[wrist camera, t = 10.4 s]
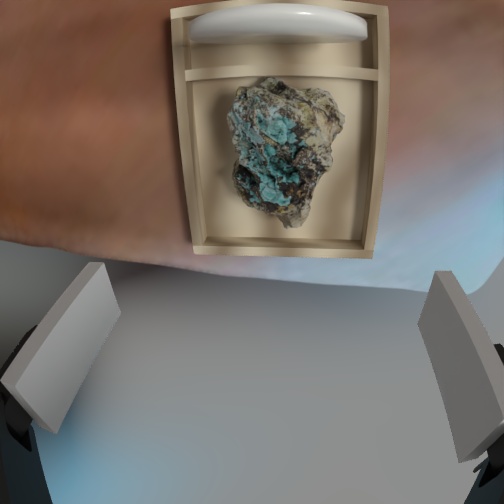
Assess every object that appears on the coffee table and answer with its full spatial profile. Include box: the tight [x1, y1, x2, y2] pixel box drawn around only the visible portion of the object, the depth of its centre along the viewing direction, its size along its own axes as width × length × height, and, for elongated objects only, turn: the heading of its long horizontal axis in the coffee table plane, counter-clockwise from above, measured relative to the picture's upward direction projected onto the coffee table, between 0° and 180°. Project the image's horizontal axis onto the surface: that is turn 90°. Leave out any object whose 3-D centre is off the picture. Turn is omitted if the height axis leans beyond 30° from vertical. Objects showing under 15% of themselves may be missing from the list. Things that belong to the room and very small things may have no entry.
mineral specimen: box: [227, 77, 345, 229], centre depth 26 cm, size 12×9×8 cm
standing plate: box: [188, 3, 367, 44], centre depth 18 cm, size 12×1×12 cm, turn 92°
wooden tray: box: [171, 0, 390, 259], centre depth 27 cm, size 18×24×3 cm
